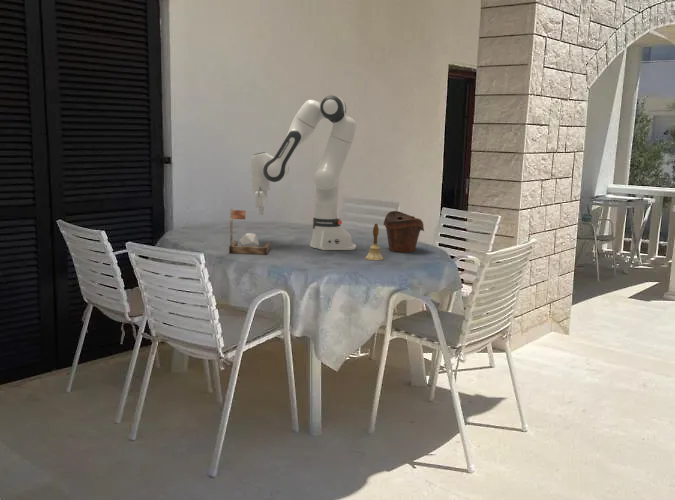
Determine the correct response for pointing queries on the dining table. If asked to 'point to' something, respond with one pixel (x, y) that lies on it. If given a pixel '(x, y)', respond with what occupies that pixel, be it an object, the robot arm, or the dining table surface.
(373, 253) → the hand bell
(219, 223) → the dining table surface
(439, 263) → the dining table surface
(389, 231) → the brown lidded bucket
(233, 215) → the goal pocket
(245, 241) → the die
